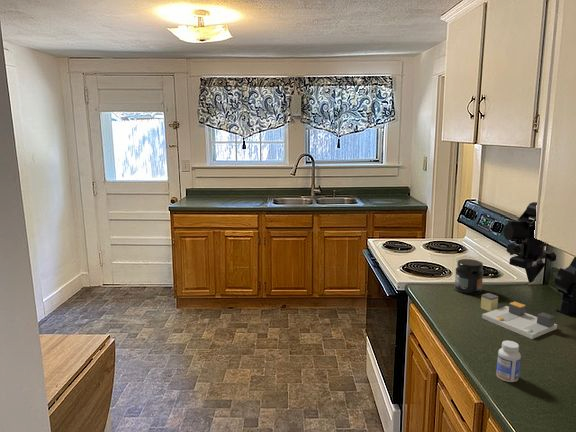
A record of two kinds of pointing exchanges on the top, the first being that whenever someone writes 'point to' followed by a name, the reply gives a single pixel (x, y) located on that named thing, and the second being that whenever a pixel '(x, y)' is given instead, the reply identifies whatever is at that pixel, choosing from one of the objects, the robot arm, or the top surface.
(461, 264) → the supplement container
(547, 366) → the top surface
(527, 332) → the panel
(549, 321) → the plain toggle
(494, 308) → the block
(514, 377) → the pill bottle
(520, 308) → the tagged toggle
